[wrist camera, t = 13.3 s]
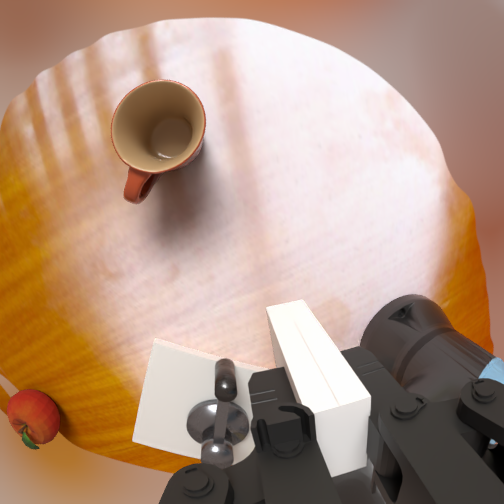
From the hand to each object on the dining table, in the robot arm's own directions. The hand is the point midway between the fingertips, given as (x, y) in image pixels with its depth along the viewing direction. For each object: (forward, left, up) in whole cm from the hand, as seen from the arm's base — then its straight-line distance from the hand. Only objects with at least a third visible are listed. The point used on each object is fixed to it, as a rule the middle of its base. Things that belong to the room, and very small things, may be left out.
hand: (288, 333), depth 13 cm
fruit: (+24, +37, -27) cm, 52 cm away
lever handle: (-4, +25, -25) cm, 35 cm away
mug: (+12, -7, -27) cm, 30 cm away
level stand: (-4, +26, -26) cm, 38 cm away
